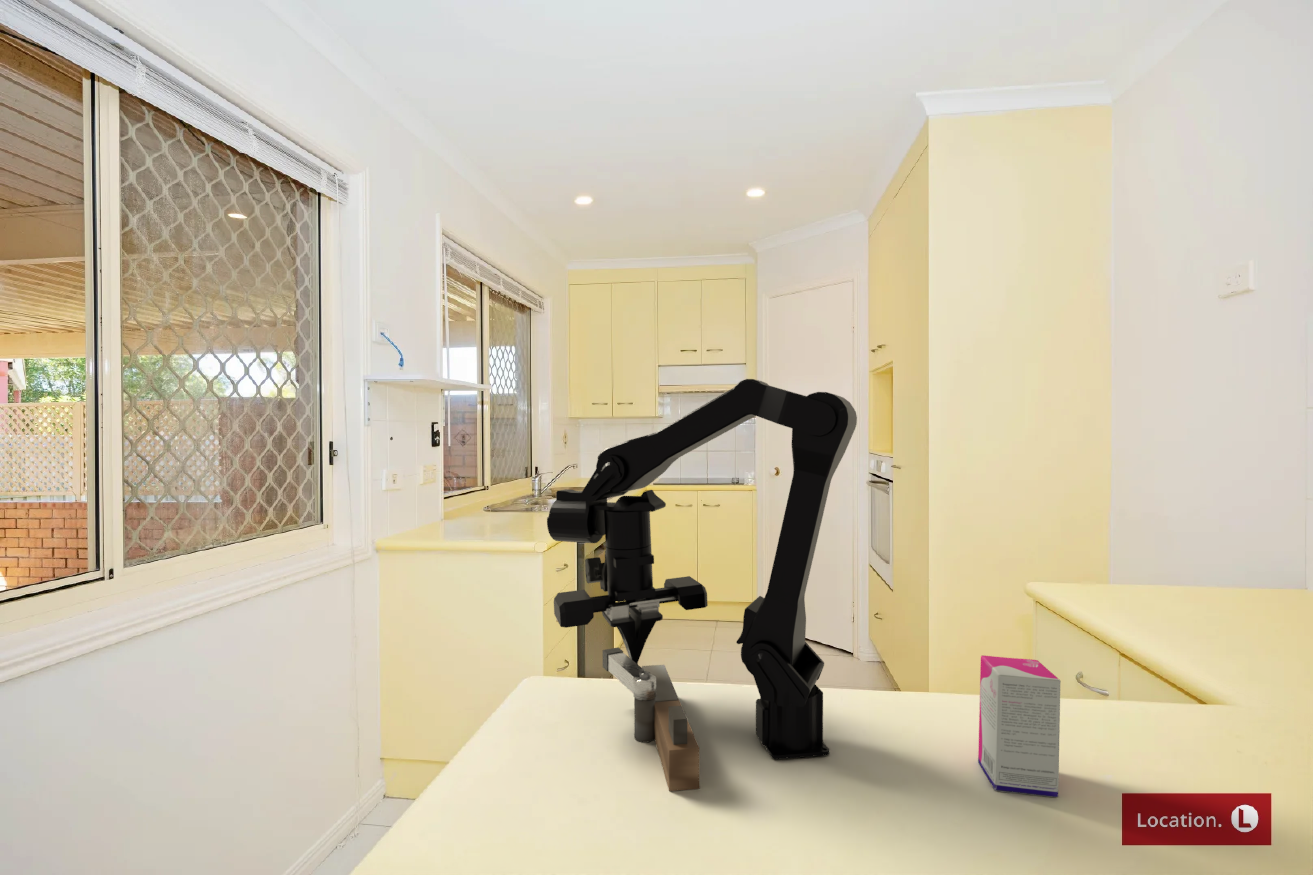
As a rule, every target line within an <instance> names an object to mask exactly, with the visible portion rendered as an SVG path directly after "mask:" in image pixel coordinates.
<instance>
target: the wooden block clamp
mask: <svg viewBox="0 0 1313 875" xmlns="http://www.w3.org/2000/svg"><path fill="white" fill-rule="evenodd" d="M641 667H642V668H643V669H644V670H645V671H649V672H650V674H652V675H654V676H655V677H656V697H655V698H654V699H651V700H638V699H636V698H634V697H633V698H634V702H633V703H634V708H633V710H634V711H633V712H634V718H633V719H634V721H633V722H634V723H633V724H634V727H633V728H634V729H633V730H634V739H635V741H637V742H639V743H650V742H652V741H654V742H655V746H656V750H657V753H658V756H659V760H660V763H661V766H662V771H663V774H664V777H665V781H666V785H667V789H668V791H669V792H672V791H673V792H676V791H685V790H686V791H687V790H696V789H697V790H698V789H700V747H699V744H698V741H697V739H696V736H695V735H694V732H693V730H692V727H691V725H690V723H689V720H688V717H687V715H686V713H685V710H684V707H683V705H682V703H681V700H680V699H679V696H678V694H677V692H676V689H675V686H674V684H673V682H672V680H671V677H670V675H669V673H668V670H667V668H666V665H665V664H652V665H642V666H641Z"/></svg>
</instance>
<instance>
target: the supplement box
mask: <svg viewBox="0 0 1313 875" xmlns="http://www.w3.org/2000/svg"><path fill="white" fill-rule="evenodd" d="M979 672H980V674H979V712H978V714H979V715H978V717H979V720H978V721H979V722H978V752H977V754H978V755H977V756H978V758H977V762H978V765H979V767H980V768H981V770H982V771H983V773H984V775H985V776H986V778H987V780H988V781H989V783H990V784H991V786H992V788H993V790H994V791H995V792H1001V793H1008V794H1009V793H1011V794H1021V795H1032V796H1038V797H1047V798H1058V796H1059V783H1060V782H1059V780H1060V778H1059V776H1060V775H1059V774H1060V772H1059V771H1060V733H1061V732H1060V729H1061V728H1060V725H1061V719H1060V717H1061V680H1060V679H1059V678H1058V677H1057V676H1056V675H1055V674H1054V673H1053V672H1051V671H1050V670H1049V668H1047V667H1046V666H1044V665H1043V663H1042V662H1040V661H1039V659H1030V658H1029V659H1028V658H1017V657H1016V658H1014V657H1004V656H994V655H993V656H992V655H985V654H984V655H981V656H980V671H979Z"/></svg>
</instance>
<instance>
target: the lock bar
mask: <svg viewBox="0 0 1313 875" xmlns="http://www.w3.org/2000/svg"><path fill="white" fill-rule="evenodd" d="M602 668H603V669H604V670H605V671H606V672H609V674H611V675H612V676H614V678H616V679H617V680H618V681H619V682H620V683H621V684H622V685H623V686H624V687H625V688H626V689H627V690H629V691H630V692H631V693H632V694H633V698H636V699H638V700H651V699H654V698H655V697H656V677H655V676H654V675H652V674H650V672H649V671H645V670H644V669H643V668H642V666H640V665H639V663H638V664H637V663H635V662H634V661H633V660H632V659H630V658H629V655H627V654H625V653H624V651H623V650H622V649H621V648H620V647H619V646H618V647H612V648H607V649H603V650H602Z"/></svg>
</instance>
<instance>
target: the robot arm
mask: <svg viewBox="0 0 1313 875" xmlns="http://www.w3.org/2000/svg"><path fill="white" fill-rule="evenodd" d="M755 417H759V418H761V419H764V420H767V421H769V422H772V423H774V424H777V425H779V426H783V427H786V428H790V429H792V430H791V454H792V456H791V457H792V465H793V474H792V479H791V483H790V484H791V485H790V488H789V492H788V493H789V494H788V495H787V496H788V497H787V502H786V505H785V506H786V507H785V509H784V510H785V511H784V515H783V518H782V519H783V520H782V522H781V523H782V524H781V528H780V532H779V537H778V540H777V541H778V542H777V546H776V550H775V554H774V555H775V556H774V559H773V564H772V568H771V573H770V577H769V581H768V586H767V591H766V593H765V596H764V597H763V596H761V595H759V596H758V597H756V598H755V599H754V600H753V601H752V602H751V603H750V604H748V605H747V606H746V607H745V608H744V613H743V620H742V622H743V623H742V631H741V633H740V636H739V637H738V639H737V640H736V644H737V645H741V644H742V645H741V648H740V657H741V662H742V664H744V666H745V668H746V669H747V671H748V672H749V673H750V674H751V675H752V676H753V679H754V682H755V685H756V688H757V691H758V694H759V697H760V698H757V699H756V700H755V735H756V737H757V739H758V740H759V741H760V743H761V745H762V746H763V747H764V748H765V751H767V754H768V755H769V756H770V758H771V759H773V760H782V759H783V760H784V759H786V760H787V759H797V758H799V759H800V758H809V757H823V756H829V755H830V748H829V747H828V746H827V745H826V743H825V742H824V692H823V691H822V690H821V689H820V688H819V686H817V684H816V683H817V681H818V680H819V679H820V677H821V675H822V672H823V669H824V667H825V662H824V660H823V659H822V657H820V656H819V655H818V654H817V653H816V651H814V649H813V648H812V647H811V646H810V645H809V644H808V643H807V642H806V629H807V613H806V602H805V595H806V590H807V586H808V582H809V578H810V577H809V576H810V572H811V569H812V564H813V560H814V555H815V551H816V547H817V542H818V538H819V533H820V530H821V526H822V520H823V516H824V512H825V507H826V505H827V504H826V503H827V499H828V495H829V492H830V486H831V482H832V479H833V476H834V475H835V473H836V471H837V469H838V467H839V465H840V464H841V461H842V460H843V457H844V455H845V453H846V450H847V449H848V446H849V444H850V442H851V440H852V436H853V435H854V433H855V431H856V427H857V424H858V423H857V422H858V415H857V412H856V410H855V408H854V406H853V405H852V404H851V402H850V401H849V400H847V399H846V398H845V397H843V396H840V395H838V394H834V393H831V392H826V391H816V392H813V393H809V394H808V395H805V394H804V395H803V394H800V393H796V392H793V391H789V390H786V389H782V388H779V387H775V386H772V385H769V384H768V383H767V382H764V381H762V380H759V379H754V378H746V379H743V380H740V381H739V382H738V383H737V384H735V386H733V388H730V389H729V390H728V391H726V392H723V393H722V394H720V395H719V396H716V397H715V398H713V399H712V400H710V401H707V402H706V403H704V404H703V405H701V406H699V407H697V408H695V409H694V410H692V411H691V412H689V413H687V414H685V415H683V416H682V417H680V418H678V419H677V420H675V421H673V422H671V423H669V424H667V425H666V426H664V427H662V428H661V429H659V430H656V431H655V432H652V433H650V434H646V435H642V436H639V437H635V438H632V439H629V440H625V441H623V442H620V443H616V444H614V445H611V446H608V447H606V448H604V449H603V450H602V451H601V452H600V453H599V454H598V455H597V461H596V465H595V470H594V472H593V474H592V475H591V477H590V478H589V480H588V481H587V483H586V485H585V486H584V488H583V489H582V491H581V490H579V491H578V490H575V489H559V490H557V491H556V492H555V495H556V496H555V501H553V503H552V505H551V507H550V509H549V513H548V517H546V526H547V530H548V531H547V532H548V534H549V536H550V538H552V540H554V541H556V542H563V543H565V542H567V543H569V542H570V543H583V544H584V543H586V544H597V543H599V542H601V540H602V538H603V536H605V550H604V562H602V560H601V557H599V556H597V557H589V558H585V560H584V571H585V581H586V583H587V584H593V583H594V584H595V583H599V584H600V590H602V591H603V592H604V593H605V592H606V593H607V594H606V595H605V594H604V595H598V596H590V595H589V594H588V593H587V591H586V590H585V589H578V590H577V589H576V590H571V591H564V592H563V591H561V592H557V594H556V595H555V597H554V598H553V614H554V617H555V619H556V621H557V622H558V624H559V626H560V627H561V628H564V629H565V628H572V627H574V628H575V627H579V626H585V625H589V623H590V622H591V621H592V620H593V619H594V616H595V614H594V613H601V615H602V617H603V618H604V619H605V621H606V622H607V623H608V624H609V627H611V628H617V630H618V632H619V634H620V636H621V639H622V642H623V644H624V646H625V650H626V652H627V654H628V655H627V656H628V657H629V658H630V659H632V660H633V661H634V662H635V663H637V664H638V665H639V660H640V657H641V656H642V652H643V650H644V647H645V645H646V643H647V640H648V638H649V636H650V634H651V632H652V630H653V628H654V626H655V625H656V622H658V621H659V622H660V621H662V620H663V618H664V616H663V614H662V613H661V612H660V610H659V608H660V607H661V606H660V604H666V603H675V602H678V605H679V606H681V607H682V608H683V609H684V610H685V611H689V610H696V609H697V610H698V609H705V608H707V607H708V604H709V603H708V592H707V589H706V587H705V586H704V585H703V584H702V583H701V582H699V581H697V580H696V579H694V578H693V577H691V576H690V575H688V576H682V577H681V576H680V577H672V578H666V579H665V581H664V584H663V587H659V588H658V587H657V588H655V587H654V586H653V585H654V581H653V580H654V577H653V565H654V564H655V556H654V554H653V553H652V536H651V535H652V534H651V533H652V532H651V531H652V530H651V513H652V512H656V511H659V510H662V509H664V508H665V507H667V506H666V505H667V503H666V502H665V501H664V500H663V499H662V498H660V496H659V497H658V496H657V494H656V493H655V492H654V490H653V489H649V490H646V491H643V492H642V493H641V495H626V494H627V493H628V492H630V491H631V492H632V491H635V490H640V489H645V488H646V487H648V486H649V485H650V484H652V482H655V480H656V479H658V478H659V477H660V476H661V475H663V474H664V473H665V472H666V471H667V470H668V469H669V468H670V466H672V465H673V463H675V462H676V461H677V460H679V459H680V458H682V457H683V456H684V455H687V454H689V453H690V452H692V451H694V450H696V449H697V448H700V447H701V446H703V445H705V444H707V443H708V442H710V441H713V440H715V439H716V438H718V437H720V436H722V435H723V434H726V433H727V432H728V431H731V430H732V429H735V428H736V427H738V426H740V425H741V424H744V423H745V422H747V421H749V420H751V419H752V418H755ZM616 497H618V499H617V500H616V502H608V499H611V498H616Z"/></svg>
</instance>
